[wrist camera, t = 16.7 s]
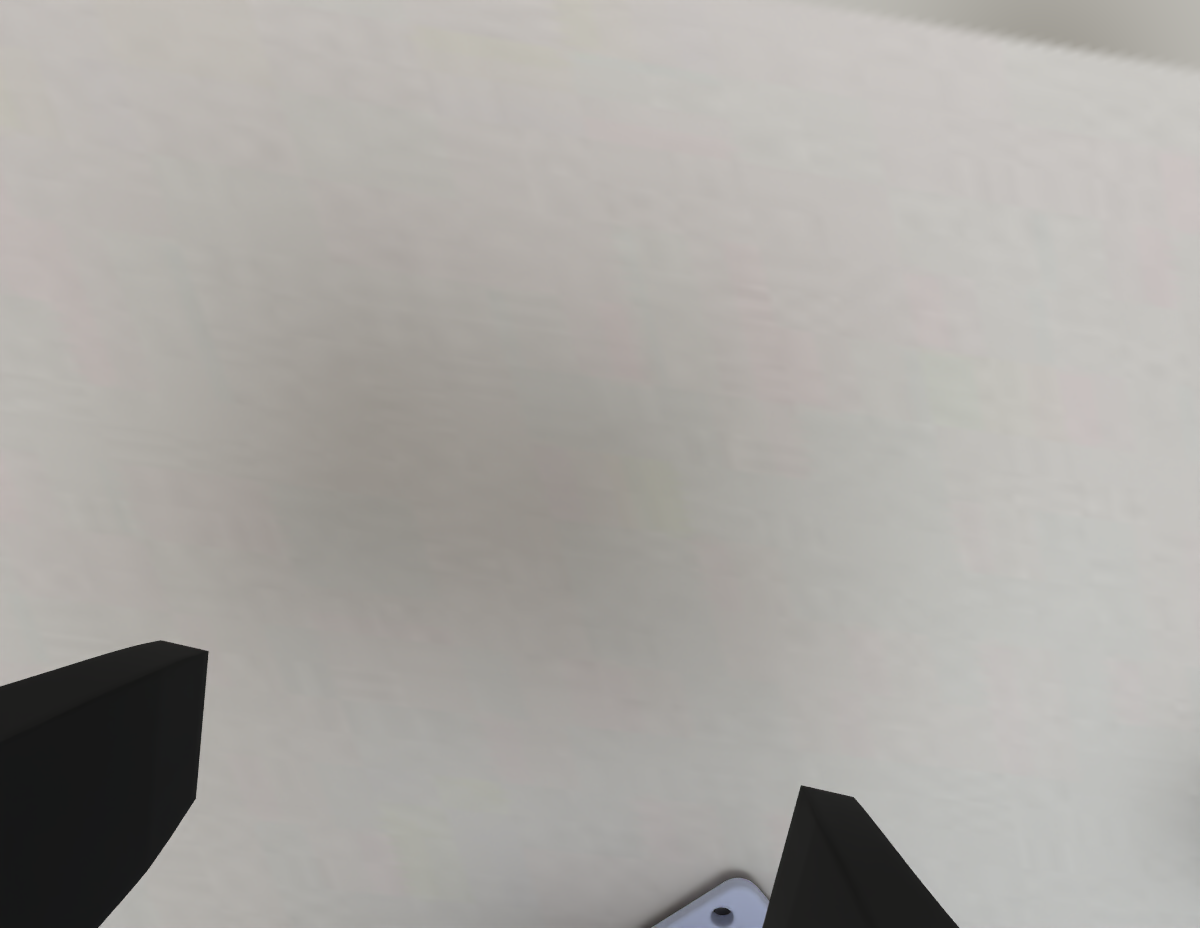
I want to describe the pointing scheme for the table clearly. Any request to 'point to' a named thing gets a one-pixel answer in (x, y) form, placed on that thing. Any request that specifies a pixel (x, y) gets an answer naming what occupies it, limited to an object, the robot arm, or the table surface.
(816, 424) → the table surface
